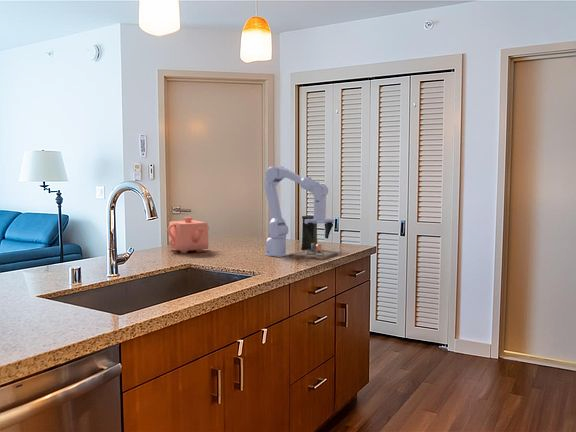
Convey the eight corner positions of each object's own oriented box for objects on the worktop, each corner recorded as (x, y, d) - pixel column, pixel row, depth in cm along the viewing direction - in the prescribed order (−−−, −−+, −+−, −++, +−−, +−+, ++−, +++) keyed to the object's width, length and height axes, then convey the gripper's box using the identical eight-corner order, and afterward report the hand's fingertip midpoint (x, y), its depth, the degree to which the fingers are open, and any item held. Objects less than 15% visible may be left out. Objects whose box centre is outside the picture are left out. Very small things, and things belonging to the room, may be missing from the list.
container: (320, 249, 278) (321, 216, 276) (312, 251, 270) (312, 217, 269) (306, 247, 283) (306, 215, 281) (297, 249, 275) (298, 216, 274)
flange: (303, 252, 258) (303, 241, 258) (318, 251, 261) (318, 241, 260) (312, 255, 247) (312, 245, 246) (327, 255, 249) (327, 244, 249)
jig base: (288, 256, 253) (288, 244, 252) (306, 252, 268) (307, 240, 268) (321, 260, 244) (321, 247, 243) (338, 255, 259) (338, 242, 258)
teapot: (222, 253, 263) (221, 218, 261) (180, 257, 250) (179, 220, 248) (201, 247, 283) (200, 214, 282) (161, 250, 270) (161, 216, 269)
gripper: (308, 210, 237) (307, 240, 238) (337, 210, 242) (336, 239, 243) (303, 209, 244) (302, 238, 245) (331, 209, 248) (330, 237, 250)
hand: (319, 238), depth 244 cm, fingers open, 7 cm apart
